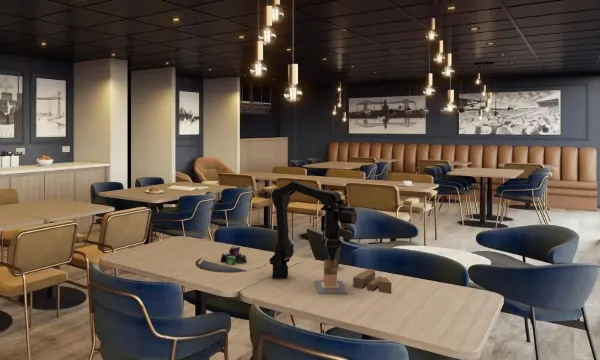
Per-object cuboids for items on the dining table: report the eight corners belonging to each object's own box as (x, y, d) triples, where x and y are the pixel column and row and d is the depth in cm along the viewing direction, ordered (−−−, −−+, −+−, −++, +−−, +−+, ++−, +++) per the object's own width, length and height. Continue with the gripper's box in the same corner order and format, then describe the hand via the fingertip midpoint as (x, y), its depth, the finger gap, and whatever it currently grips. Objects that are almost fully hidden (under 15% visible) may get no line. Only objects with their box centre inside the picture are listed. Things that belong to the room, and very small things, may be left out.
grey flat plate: (318, 293, 204) (318, 292, 204) (314, 281, 220) (314, 280, 219) (347, 293, 204) (347, 292, 204) (342, 282, 220) (342, 280, 220)
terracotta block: (324, 286, 211) (325, 274, 211) (323, 282, 216) (323, 271, 216) (336, 286, 212) (336, 274, 211) (335, 282, 217) (335, 271, 216)
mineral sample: (280, 266, 244) (280, 247, 244) (213, 276, 225) (213, 255, 224) (246, 255, 273) (246, 238, 273) (184, 263, 253) (183, 245, 253)
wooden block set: (352, 275, 213) (367, 265, 229) (351, 288, 214) (367, 278, 229) (390, 281, 205) (404, 271, 220) (390, 295, 205) (404, 284, 221)
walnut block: (325, 274, 211) (325, 262, 210) (323, 271, 216) (324, 259, 215) (337, 274, 211) (337, 263, 211) (335, 271, 216) (335, 259, 216)
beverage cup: (340, 270, 238) (341, 228, 236) (324, 269, 239) (325, 227, 237) (341, 266, 245) (343, 226, 243) (326, 265, 246) (328, 225, 244)
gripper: (354, 226, 202) (353, 264, 204) (347, 218, 221) (346, 253, 223) (326, 225, 202) (325, 264, 203) (322, 217, 220) (321, 253, 222)
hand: (330, 258), depth 213 cm, fingers open, 9 cm apart
